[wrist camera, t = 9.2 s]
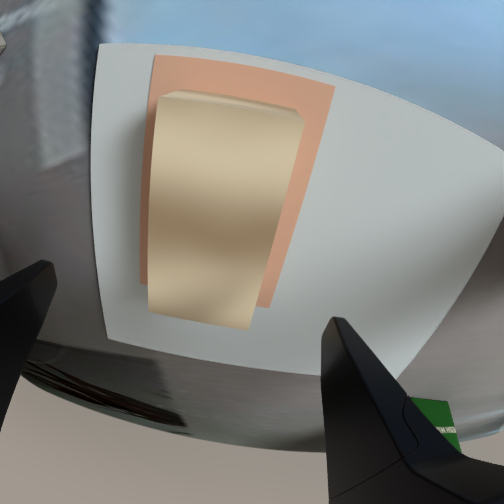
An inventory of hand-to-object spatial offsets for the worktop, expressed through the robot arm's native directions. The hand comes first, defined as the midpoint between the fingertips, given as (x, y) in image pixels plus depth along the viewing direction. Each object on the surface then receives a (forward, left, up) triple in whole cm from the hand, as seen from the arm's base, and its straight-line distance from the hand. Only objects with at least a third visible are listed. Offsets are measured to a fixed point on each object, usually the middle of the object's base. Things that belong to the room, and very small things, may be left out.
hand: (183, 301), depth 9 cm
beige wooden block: (0, 0, -7) cm, 7 cm away
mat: (-5, +3, -8) cm, 10 cm away
